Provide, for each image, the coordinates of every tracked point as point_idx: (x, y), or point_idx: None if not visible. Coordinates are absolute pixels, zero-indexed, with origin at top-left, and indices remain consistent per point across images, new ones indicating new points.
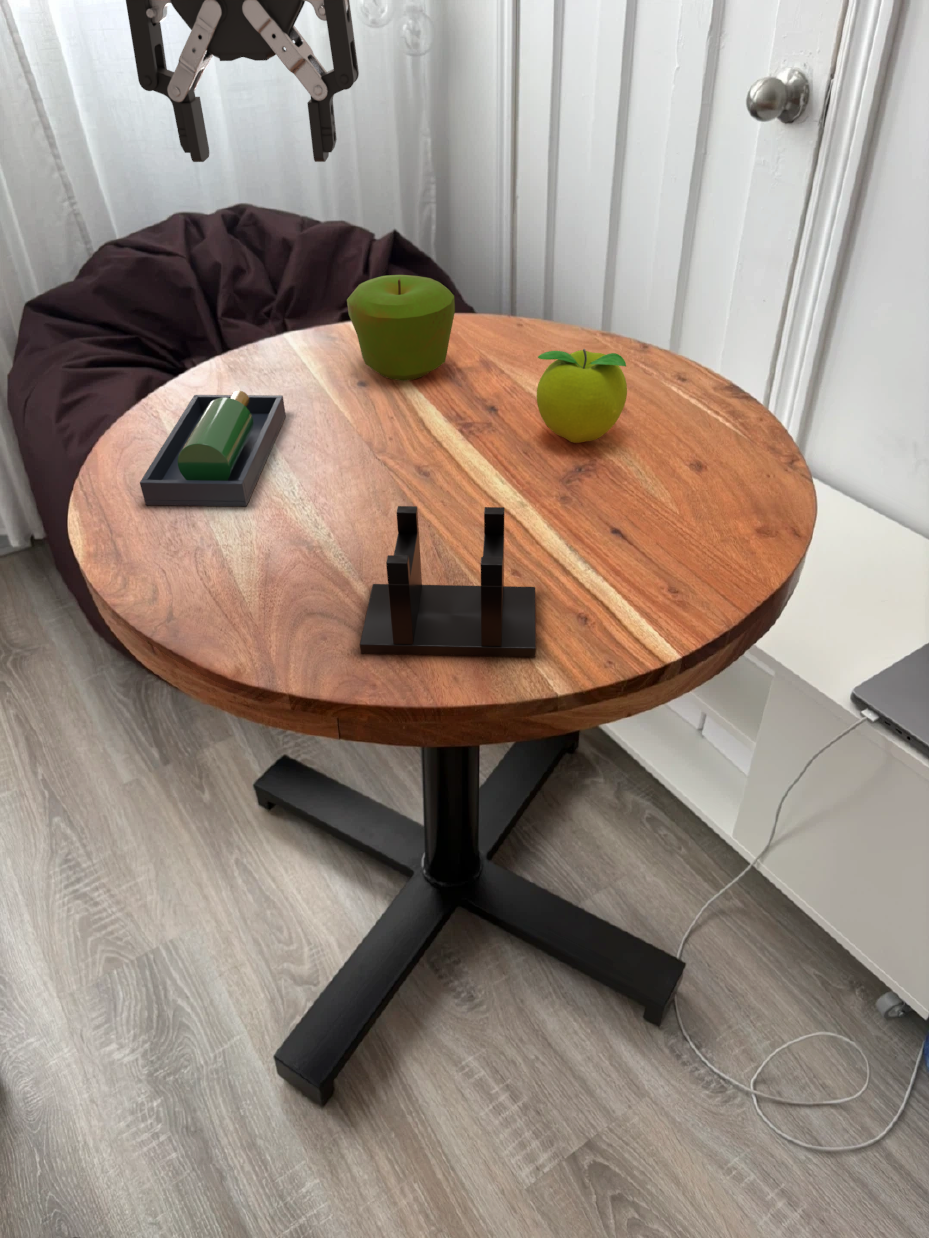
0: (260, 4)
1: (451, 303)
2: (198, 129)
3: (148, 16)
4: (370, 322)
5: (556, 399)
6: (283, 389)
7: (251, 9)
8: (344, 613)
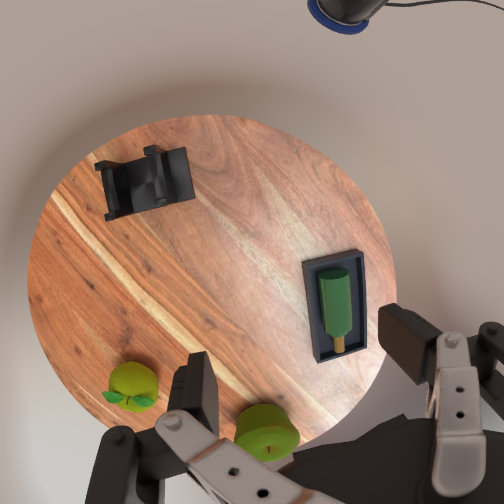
0: None
1: None
2: (400, 335)
3: None
4: (278, 423)
5: (138, 374)
6: (324, 379)
7: None
8: (205, 176)
